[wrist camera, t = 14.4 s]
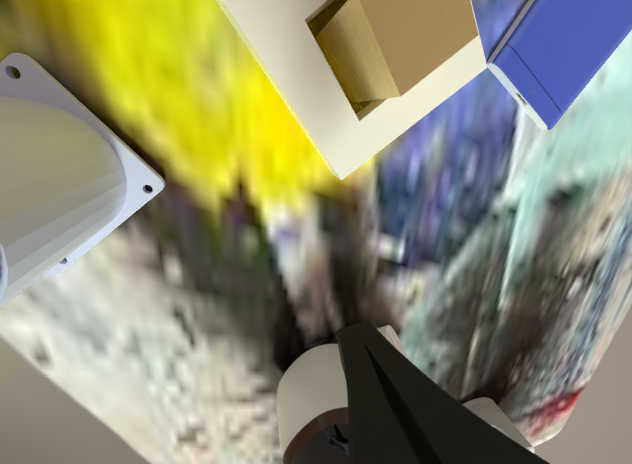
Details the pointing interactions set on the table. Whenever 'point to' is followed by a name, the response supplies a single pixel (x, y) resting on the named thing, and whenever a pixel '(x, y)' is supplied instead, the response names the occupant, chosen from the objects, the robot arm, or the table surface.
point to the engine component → (497, 419)
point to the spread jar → (317, 404)
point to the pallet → (323, 88)
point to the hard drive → (558, 52)
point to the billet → (393, 43)
